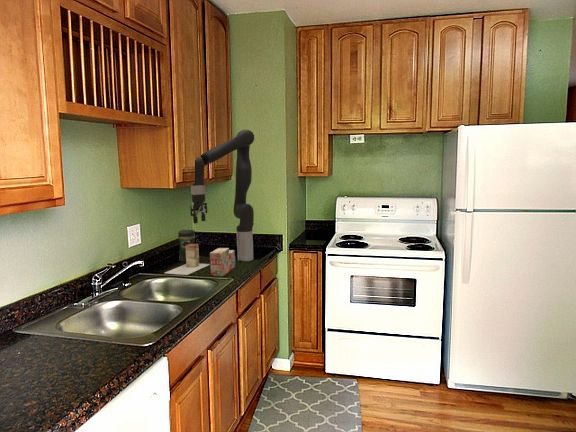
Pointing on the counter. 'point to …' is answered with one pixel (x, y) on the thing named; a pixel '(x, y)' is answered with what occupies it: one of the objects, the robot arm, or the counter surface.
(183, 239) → the coffee jar
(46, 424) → the counter surface
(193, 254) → the birch block
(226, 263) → the printed cardboard box
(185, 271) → the grey mat
